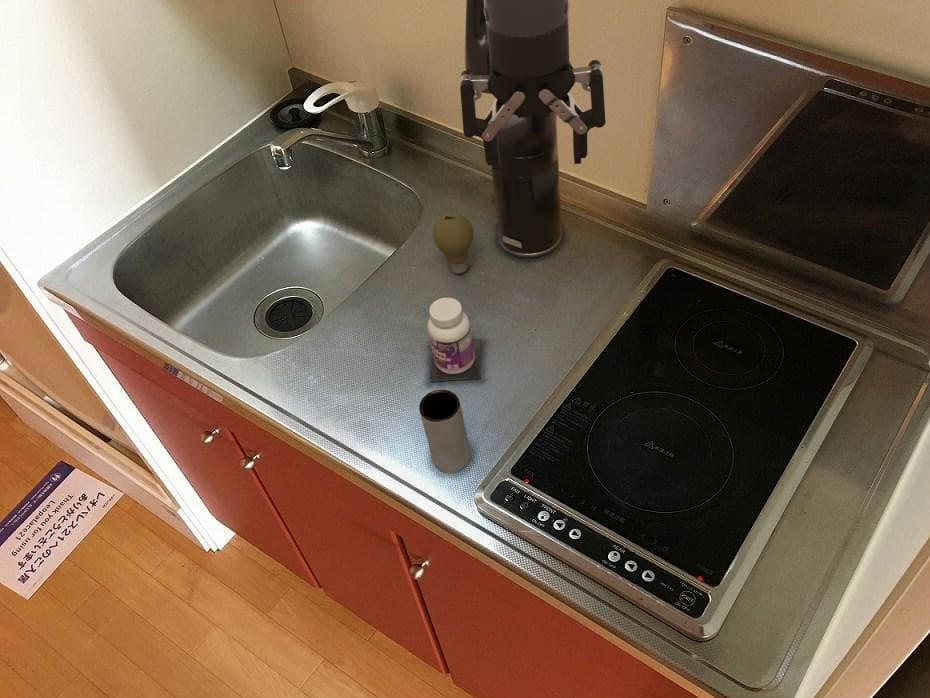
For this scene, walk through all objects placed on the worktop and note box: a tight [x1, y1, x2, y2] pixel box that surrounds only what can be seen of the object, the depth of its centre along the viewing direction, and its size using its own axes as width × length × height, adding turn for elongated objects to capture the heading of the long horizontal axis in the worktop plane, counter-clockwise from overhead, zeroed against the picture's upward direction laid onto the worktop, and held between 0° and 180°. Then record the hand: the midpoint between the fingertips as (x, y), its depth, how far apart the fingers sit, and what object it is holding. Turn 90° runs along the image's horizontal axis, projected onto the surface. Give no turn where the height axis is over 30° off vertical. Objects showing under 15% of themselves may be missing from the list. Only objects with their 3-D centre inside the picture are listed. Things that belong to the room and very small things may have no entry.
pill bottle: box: [426, 297, 475, 374], centre depth 103 cm, size 5×5×10 cm
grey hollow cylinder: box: [418, 389, 472, 474], centre depth 94 cm, size 4×4×10 cm
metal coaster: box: [429, 339, 482, 383], centre depth 107 cm, size 6×6×1 cm
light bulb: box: [432, 211, 474, 274], centre depth 114 cm, size 6×6×10 cm
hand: (536, 162), depth 87 cm, fingers open, 8 cm apart
